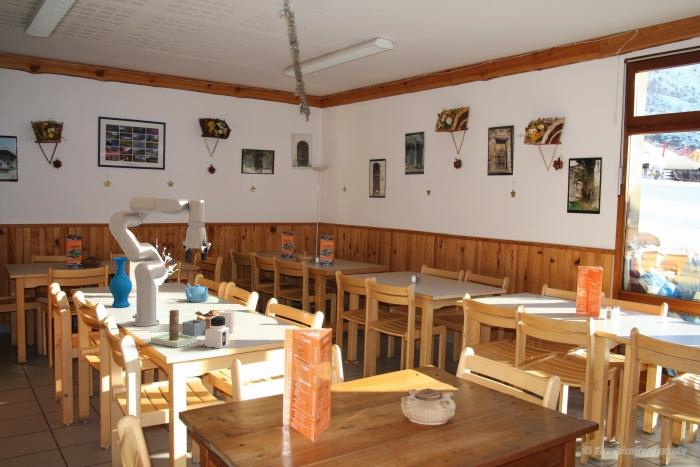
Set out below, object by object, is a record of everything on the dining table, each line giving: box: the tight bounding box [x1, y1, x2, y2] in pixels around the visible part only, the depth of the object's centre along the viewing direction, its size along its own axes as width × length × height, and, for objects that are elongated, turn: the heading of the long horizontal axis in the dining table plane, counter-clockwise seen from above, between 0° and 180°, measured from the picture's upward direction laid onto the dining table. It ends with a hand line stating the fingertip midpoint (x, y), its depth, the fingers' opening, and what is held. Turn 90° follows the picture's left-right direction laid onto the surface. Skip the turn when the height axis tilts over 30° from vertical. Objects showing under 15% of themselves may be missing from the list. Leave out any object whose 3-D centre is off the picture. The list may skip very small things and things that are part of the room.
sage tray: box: [150, 332, 198, 348], centre depth 270 cm, size 16×12×2 cm
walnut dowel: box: [168, 309, 180, 341], centre depth 270 cm, size 4×4×13 cm
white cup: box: [218, 309, 237, 334], centre depth 292 cm, size 8×8×10 cm
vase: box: [108, 256, 133, 308], centre depth 348 cm, size 12×13×28 cm
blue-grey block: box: [182, 319, 207, 338], centre depth 286 cm, size 8×8×6 cm
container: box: [204, 315, 230, 349], centre depth 266 cm, size 8×8×13 cm
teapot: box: [184, 282, 209, 303], centre depth 370 cm, size 15×15×10 cm
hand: (196, 259), depth 294 cm, fingers open, 9 cm apart
